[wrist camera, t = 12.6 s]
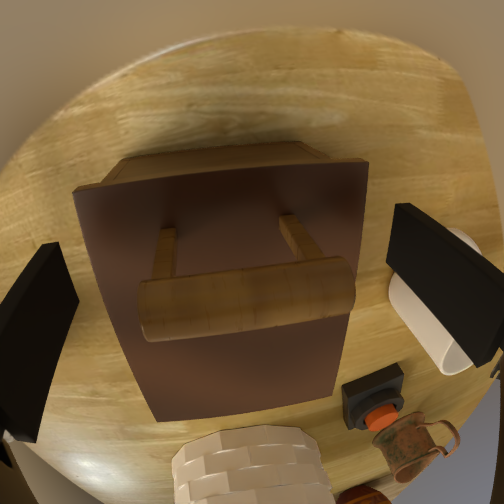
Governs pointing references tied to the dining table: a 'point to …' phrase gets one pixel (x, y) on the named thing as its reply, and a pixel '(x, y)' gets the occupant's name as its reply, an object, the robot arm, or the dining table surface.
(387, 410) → the button
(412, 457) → the mug
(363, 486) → the jug
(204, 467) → the basket
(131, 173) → the chest
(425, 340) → the mug
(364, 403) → the button base
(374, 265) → the dining table surface
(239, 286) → the lid
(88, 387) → the dining table surface
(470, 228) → the dining table surface
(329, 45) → the dining table surface
